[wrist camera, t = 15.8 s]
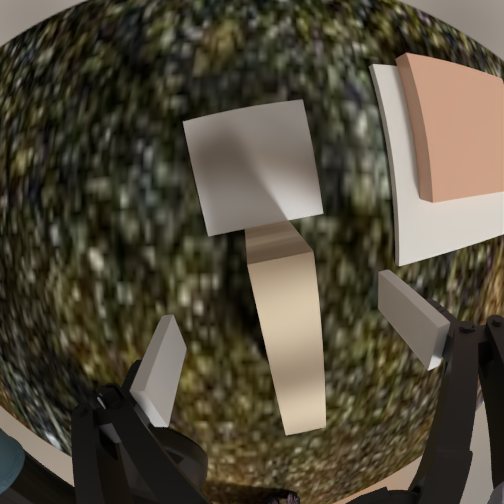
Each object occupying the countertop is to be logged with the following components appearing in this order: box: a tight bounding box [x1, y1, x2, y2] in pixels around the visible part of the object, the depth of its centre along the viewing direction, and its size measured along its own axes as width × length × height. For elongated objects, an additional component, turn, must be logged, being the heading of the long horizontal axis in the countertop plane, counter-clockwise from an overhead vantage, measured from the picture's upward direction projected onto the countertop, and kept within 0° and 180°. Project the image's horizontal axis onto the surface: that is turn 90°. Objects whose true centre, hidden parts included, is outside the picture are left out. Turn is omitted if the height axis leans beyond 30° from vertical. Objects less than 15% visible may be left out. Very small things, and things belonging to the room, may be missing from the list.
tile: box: [395, 53, 504, 203], centre depth 13 cm, size 12×2×10 cm
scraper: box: [183, 100, 326, 435], centre depth 14 cm, size 19×7×6 cm, turn 11°
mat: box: [369, 64, 504, 266], centre depth 15 cm, size 16×14×1 cm
